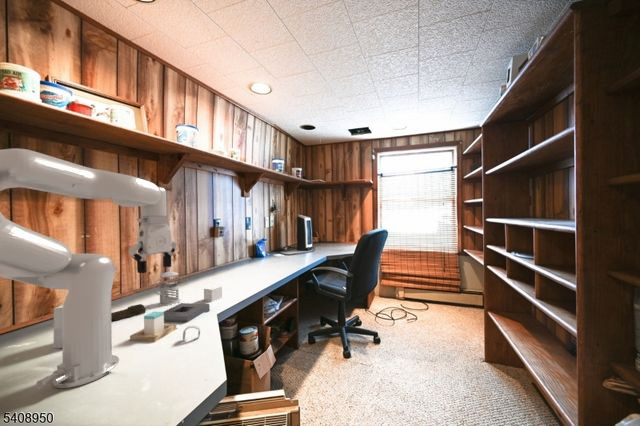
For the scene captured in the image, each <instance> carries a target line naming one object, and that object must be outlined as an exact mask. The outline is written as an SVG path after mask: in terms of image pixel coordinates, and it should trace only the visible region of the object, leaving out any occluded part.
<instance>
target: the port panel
mask: <svg viewBox="0 0 640 426" xmlns="http://www.w3.org/2000/svg"><path fill="white" fill-rule="evenodd" d="M210 308H211V307H210V303H191V302H190V303H188V302H187V303H185V302H184V303H183V302H180V303H178V304H175V306H174V305H173V307H171V308H169V309H166V310H164V311H163V312H164V323H165V322H166V323H189V322H191V321H192V320H195V319H196V318H197V317H200V315H202V314H205V313H208V312H210Z"/></svg>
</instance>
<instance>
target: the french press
mask: <svg viewBox="0 0 640 426" xmlns="http://www.w3.org/2000/svg"><path fill="white" fill-rule="evenodd" d="M177 276H179V273H178V272H176V271H170V270H168V271H166V272H163V273H162V274H160V275H159V277H160V278H168V281H165V282H162V280H161V279H160V278H159V279H156V281H155V282H154V283H153V285H152V290H153V292H154V294H156V295H158V296H159V303H158V304H157V305H159V307H168V305H169V306H173V305H172V304H174V305H177V304H179V303H181V302H182V300H181V299H180V298H179V297H180V296H179V291H180V290H179V284H178V281H177V280H173V281H171V280H170V278H172V277H177ZM158 282H159V283H160V284H161V286H160V287H159V288H160V290H159V291H160V293H157V292H156V290H155V289H156V288H155V287H156V284H157V283H158ZM180 301H181V302H180ZM178 302H179V303H178ZM176 303H177V304H176Z"/></svg>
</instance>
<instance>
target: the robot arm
mask: <svg viewBox="0 0 640 426" xmlns="http://www.w3.org/2000/svg"><path fill="white" fill-rule="evenodd" d="M13 188H15V189H17V188H24V189H30V190H36V191H41V192H47V193H52V194H57V195H64V196H68V197H72V198H76V199H77V198H78V199H89V200H112V201H113V203H115V204H116V205H117V206H120V207H124V208H130V207H131V208H132V207H134V208H135V207H140V215H141V217H140V218H139V219H138V222H139V223H141V225H139V229H138V233H137V242H136V244H135V245H133V246H132V247H130V248H129V249H128V253H129V254H130V256H131V258H133V260H134V261H135V262H136V270H137V274H138V273H139V274H146V273H147V260H145V259H147V257H148V256H149V255H156V254H163V255H164V256H163V257H162V262H163V263H162V264H163V265H162V266H163V267H164V268H171V267H172V256H173V255H174V252H176V248H177V245H178V244H177V243H176V242H175V241H173V239H172V231H171V227H170V225H169V224H168V219H167V215H168V214H167V213H168V212H167V210H168V209H167V190H166V189H165V188H164V187H162V186H158V185H156V183H154V182H151V181H149V180H146V179H142V178H140V177H136V176H133V175H129V174H124V173H119V172H118V173H117V172H112V171H108V170H103V169H98V168H97V169H96V168H91V167H88V166H84V165H80V164H77V163H74V162H71V161H67V160H64V159H60V158H57V157H55V156H51V155H47V154H44V153H41V152H39V151H38V152H37V151H34V150H31V149H26V148H18V147H17V148H5V149H0V192H1V191H3V190H4V191H5V189H6V190H7V189H13ZM115 274H116V266H115V263H114V261H113V260H112V258H110V257H109V256H107V255H104V254H101V253H72V250H71V248H69V246H68V245H67V244H65V243H64V242H62V241H60V240H58V239H56V238H53V237H51V236H47V235H44V234H42V233H40V232H37V231H35V230H33V229H29V228H27V227H24V226H22V225H19V224H18V223H15V222H13V221H11V220H10V219H8V218H6V217H5V216H4V214H2V212H1V211H0V277H1V278H3V279H8V280H12V281H15V282H16V281H17V282H21V283H24V284H28V285H33V286H36V287H42V288H47V289H50V290H51V289H52V290H68V291H67V295H66V296H65V299H64V302H63V304H62V305H63V308H62V348H61V350H62V351H61V353H62V354H61V357H62V358H61V359H62V361H61V363H60V364H57V366H56V370H54V371H53V373H51V374H49V375H46V376H45V377H43V378H41V379H38V380H37V381H36V388H37V389H39V390H41V389H43V388H45V387H47V386H49V385H50V384H53V386H54V387H55V388H58V389H68V388H69V389H70V388H75V387H80V386H82V385H85V384H89V383H92V382H94V381H96V380H98V379H101V378H102V377H103V378H104V377H105V376H106V375H108V374H109V373H110V374H111V370H113V369H114V368H115V367H116V366H117V365H118V364H119V363H120V358H119V356H117V355H114V354H113V352H112V351H113V343H112V342H113V341H112V339H113V338H112V337H113V336H112V333H113V331H112V328H113V327H112V321H111V313H112V290H113V284H114V280H115V276H116V275H115Z"/></svg>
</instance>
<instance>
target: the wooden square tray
mask: <svg viewBox="0 0 640 426" xmlns="http://www.w3.org/2000/svg"><path fill="white" fill-rule="evenodd" d="M178 329H179V328H177V324H176V323H175V324H171V323H164V330H163V331H161V332H159V333H157V334H156V335H144V328H143V329H140V330H138V331H137V332H134V333H133V334H131V335H129V340H128V341H129V342H141V343H156V342H158V341H160V340H161V339H163V338H164V337H166V336H168V335H170V334H172V332H175V331H176V330H178Z"/></svg>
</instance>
